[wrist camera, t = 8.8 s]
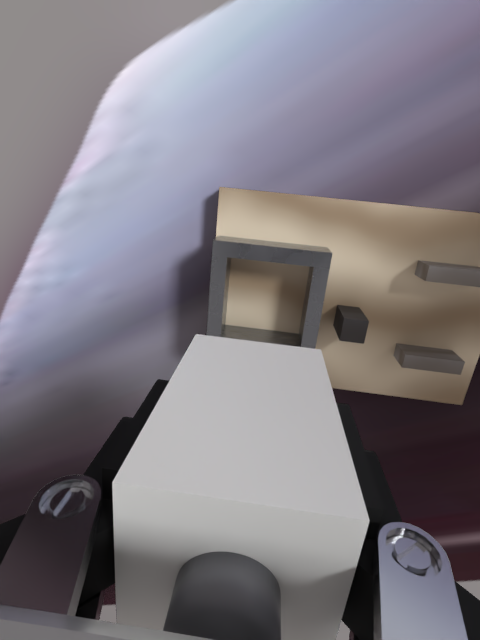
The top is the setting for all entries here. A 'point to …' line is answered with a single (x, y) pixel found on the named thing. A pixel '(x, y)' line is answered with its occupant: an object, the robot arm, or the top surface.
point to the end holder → (275, 253)
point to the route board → (366, 288)
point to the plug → (239, 500)
